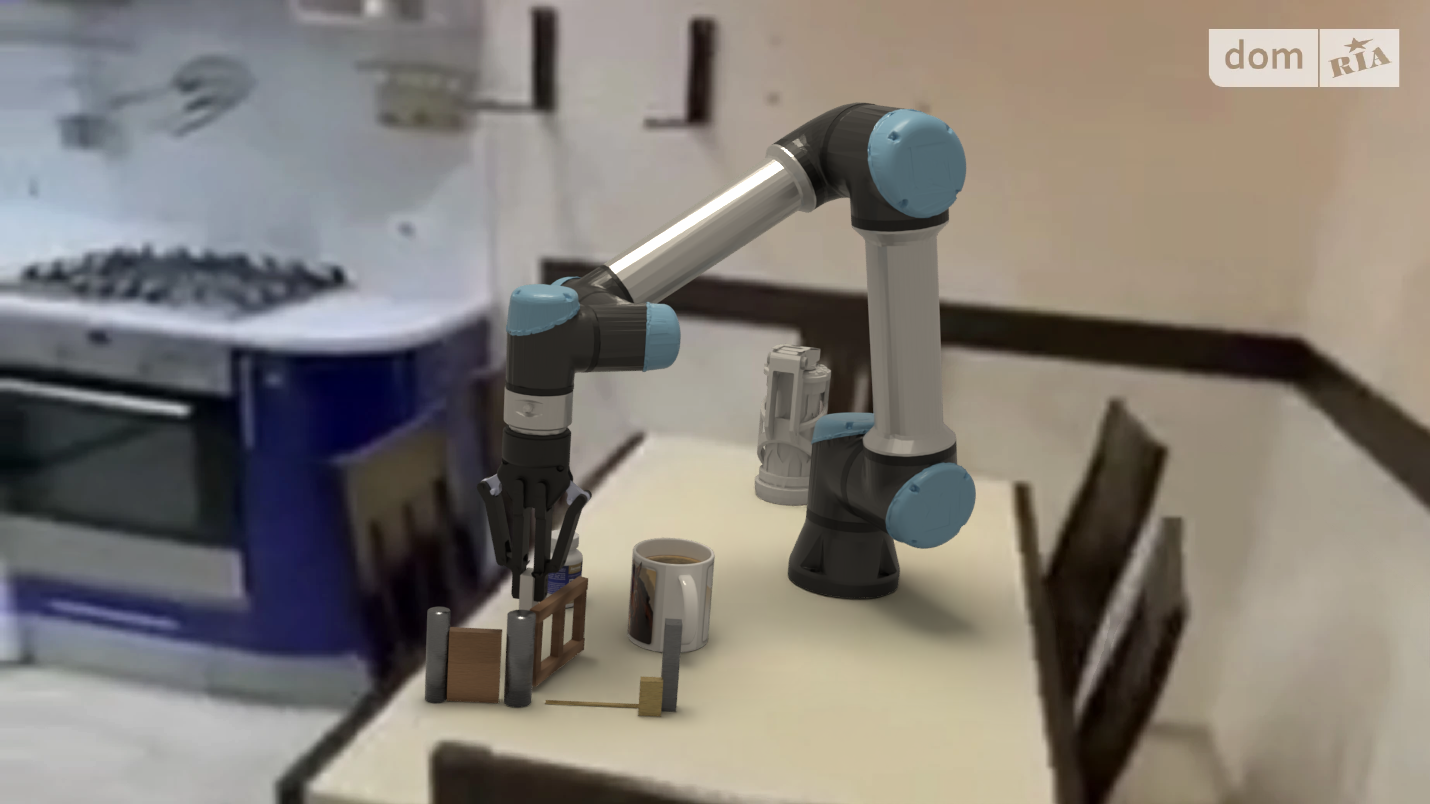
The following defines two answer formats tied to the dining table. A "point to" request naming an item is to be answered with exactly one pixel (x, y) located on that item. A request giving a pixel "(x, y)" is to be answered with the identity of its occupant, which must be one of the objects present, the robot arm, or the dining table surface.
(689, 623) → the mug
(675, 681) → the block
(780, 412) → the lantern
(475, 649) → the fence
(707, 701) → the dining table surface
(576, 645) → the gate
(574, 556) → the pill bottle
